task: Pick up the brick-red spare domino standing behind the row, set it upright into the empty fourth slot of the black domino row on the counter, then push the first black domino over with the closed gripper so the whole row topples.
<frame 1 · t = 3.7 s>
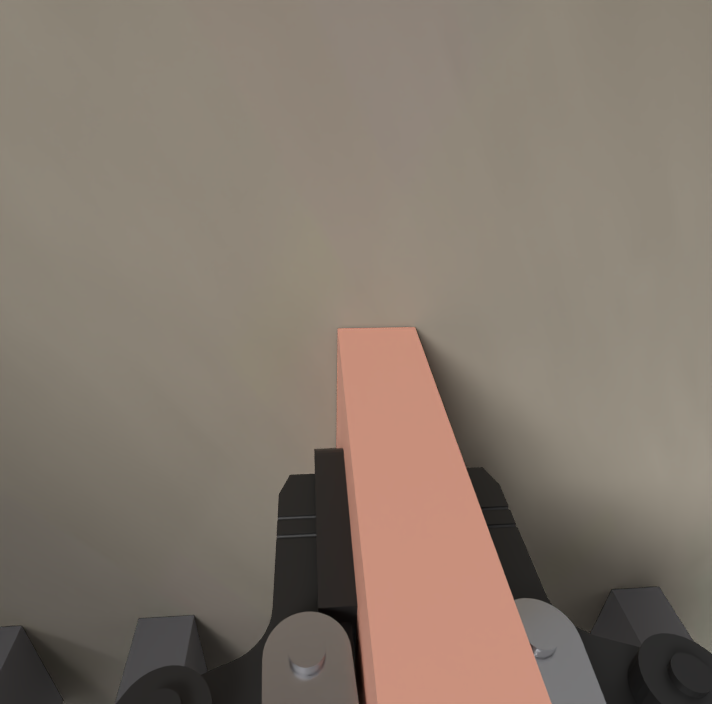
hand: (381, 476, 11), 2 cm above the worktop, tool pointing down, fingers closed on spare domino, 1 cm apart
domino 5: (615, 627, 20), on the worktop
domino 2: (177, 656, 19), on the worktop
spare domino: (371, 412, 13), on the worktop, touching gripper
domino 1: (17, 667, 18), on the worktop
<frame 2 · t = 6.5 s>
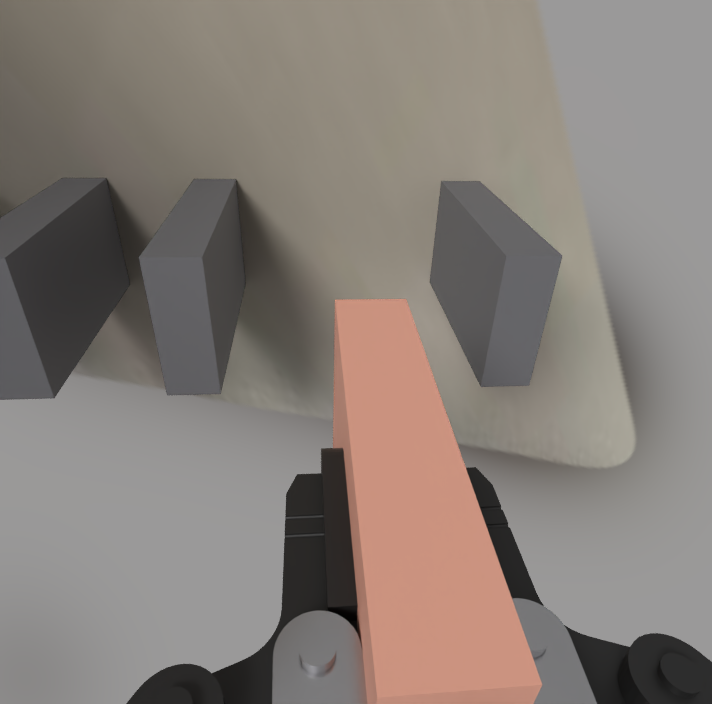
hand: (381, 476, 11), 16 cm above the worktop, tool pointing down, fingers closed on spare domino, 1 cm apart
domino 5: (453, 234, 25), on the worktop
domino 3: (221, 234, 24), on the worktop
domino 2: (98, 234, 24), on the worktop
spare domino: (366, 379, 14), point 12 cm above the worktop, touching gripper
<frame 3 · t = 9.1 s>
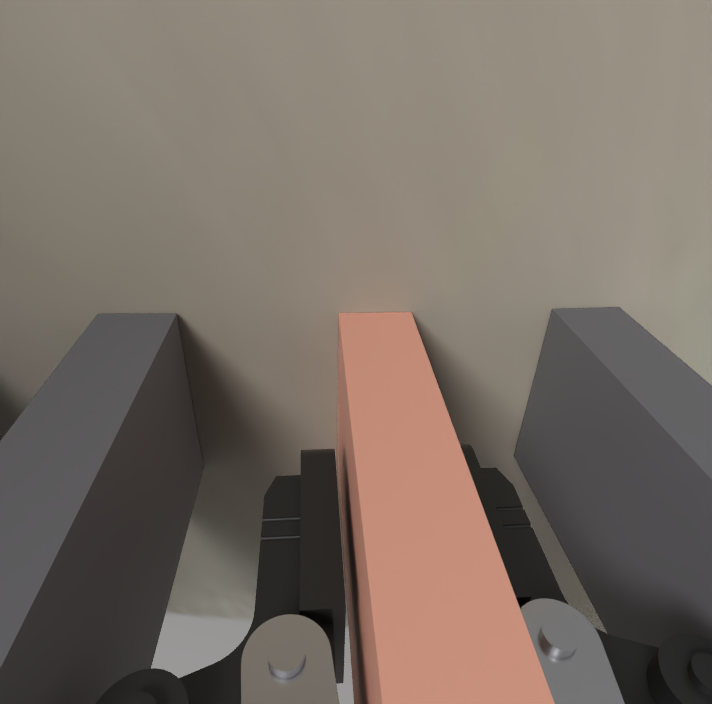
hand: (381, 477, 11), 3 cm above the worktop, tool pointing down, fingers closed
domino 5: (562, 387, 14), on the worktop
domino 3: (156, 398, 13), on the worktop
spare domino: (370, 394, 14), on the worktop
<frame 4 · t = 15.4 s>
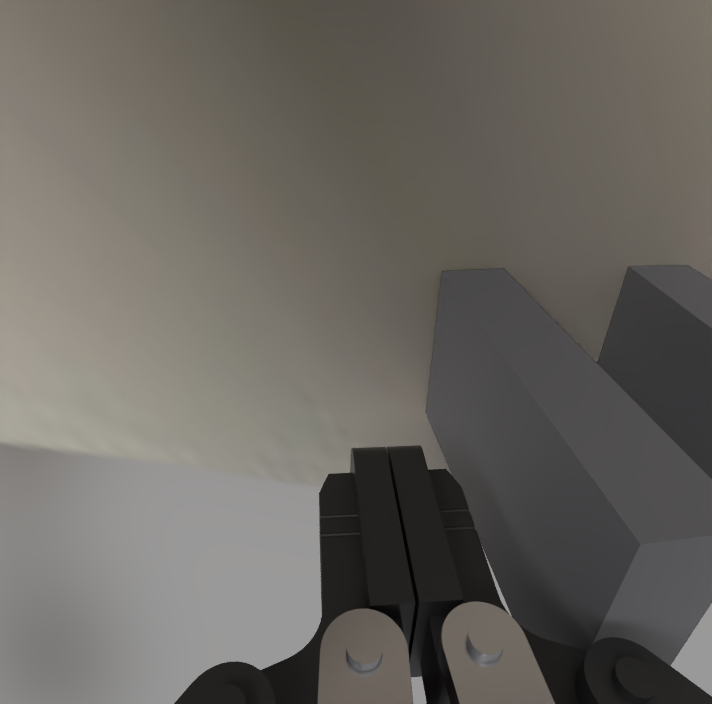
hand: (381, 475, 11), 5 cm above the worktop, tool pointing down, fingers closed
domino 2: (632, 339, 16), on the worktop
domino 1: (461, 345, 16), on the worktop
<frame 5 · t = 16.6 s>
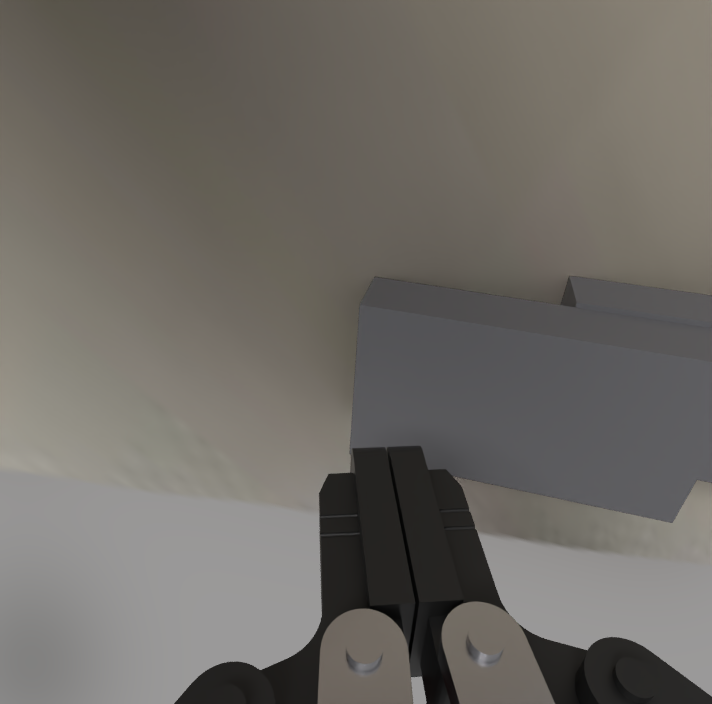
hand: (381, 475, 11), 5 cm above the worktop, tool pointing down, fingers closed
domino 2: (549, 364, 15), point 1 cm above the worktop, tilted 72°, touching domino 1
domino 1: (361, 368, 15), point 1 cm above the worktop, tilted 71°, touching domino 2
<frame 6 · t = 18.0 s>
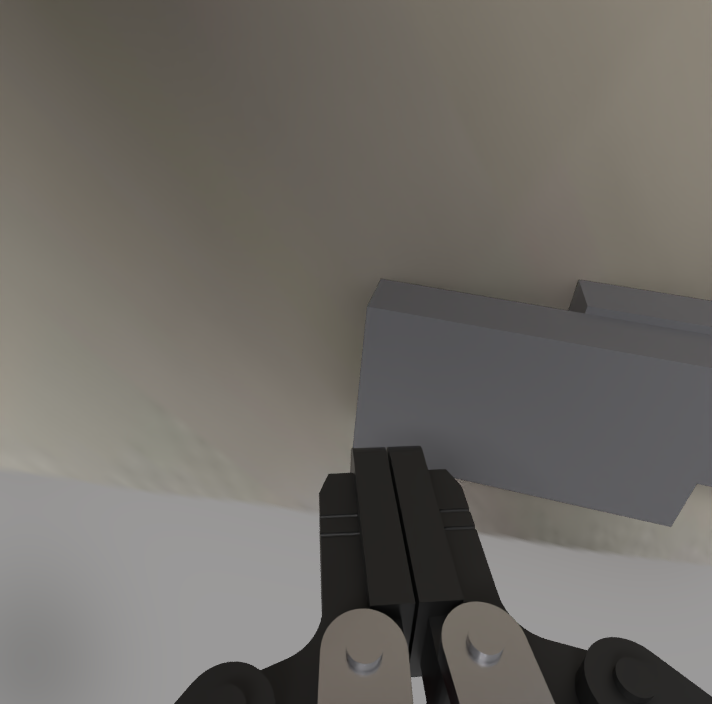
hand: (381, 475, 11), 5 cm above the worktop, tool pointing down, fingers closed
domino 2: (557, 367, 16), point 1 cm above the worktop, tilted 72°, touching domino 1, domino 3
domino 1: (365, 370, 15), point 1 cm above the worktop, tilted 72°, touching domino 2
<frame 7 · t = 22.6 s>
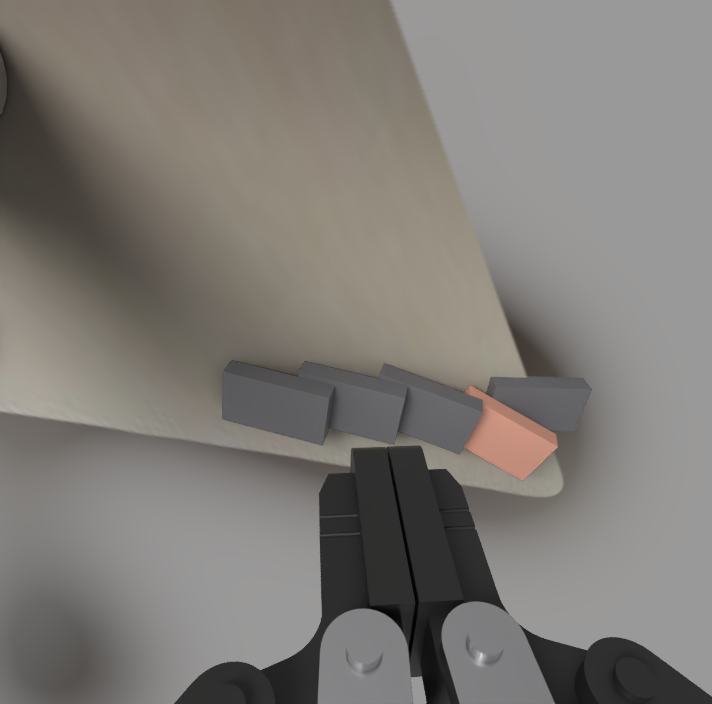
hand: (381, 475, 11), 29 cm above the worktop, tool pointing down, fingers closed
domino 5: (486, 402, 48), point 1 cm above the worktop, tilted 90°
domino 3: (373, 391, 45), point 1 cm above the worktop, tilted 73°, touching domino 2, spare domino
domino 2: (299, 390, 45), point 1 cm above the worktop, tilted 73°, touching domino 1, domino 3
spare domino: (454, 409, 47), point 1 cm above the worktop, tilted 73°, touching domino 3
domino 1: (227, 390, 44), point 1 cm above the worktop, tilted 73°, touching domino 2
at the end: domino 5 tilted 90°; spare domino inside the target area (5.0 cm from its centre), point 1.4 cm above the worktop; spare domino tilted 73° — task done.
